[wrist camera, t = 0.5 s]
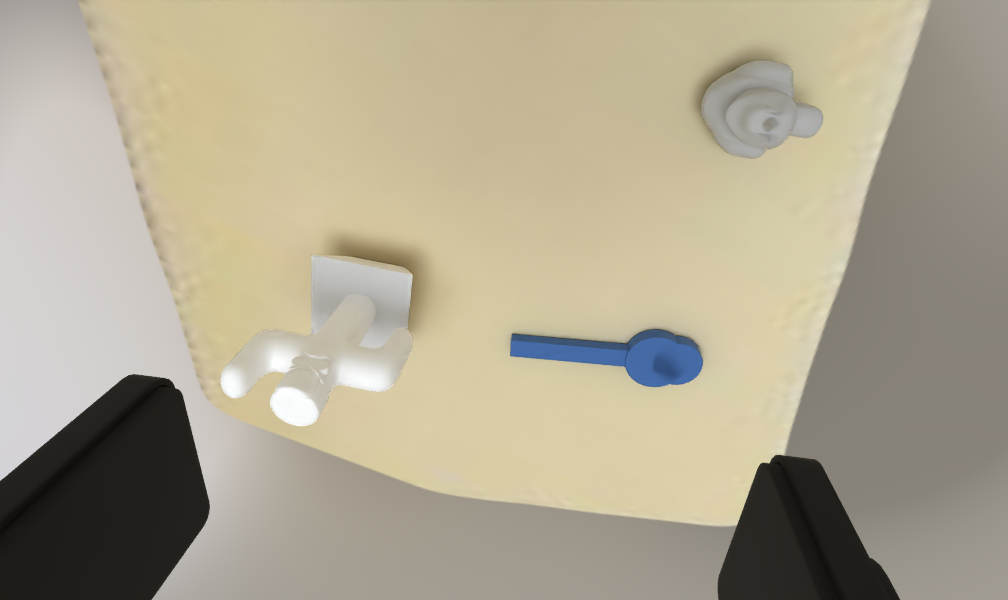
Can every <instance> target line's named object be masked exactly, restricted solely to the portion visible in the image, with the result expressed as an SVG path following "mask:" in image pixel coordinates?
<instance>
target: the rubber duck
mask: <svg viewBox="0 0 1008 600" xmlns="http://www.w3.org/2000/svg"><path fill="white" fill-rule="evenodd" d="M793 96H794V86H793V72H792V69H791V68H790V67H789V66H788V65H787V64H784V63H779V62H774V61H768V60H756V61H752V62H748V63H746V64H743V65H741V66H740V67H738V68H737V69H736V70H734V71H731V72H728V73H727V74H725V75H723V76H722V77H720V78H719V79H717V80H716V81H715V82H713V83H712V84H711V85H710V86H709V88H708V89H707V90H706V92H705V94H704V97H703V100H702V103H701V114H702V116H703V118H704V120H705V122H706V124H707V126H708V127H709V129H710V130H711V132H712V133H713V135H714V138H715V140H716V142H717V143H718V144H719V145H720V146H721V147H722V148H723V149H724V150H725V151H726V152H728V153H729V154H731V155H734V156H739V157H744V158H750V159H755V158H758V157H760V156H761V155H762V154H763V153H764V152H765V151H766V149H772V148H775V147H777V146H779V145H780V144H782V143H783V142H784V141H785V140H786V139H787V138H788V136H789V135H792V136H796V137H801V138H809V137H811V136H813V135H815V134H816V133H817V132H818V131H819V129H820V128H821V126H822V123H823V114H822V112H821V110H820V109H818V108H817V107H814V106H811V105H808V104H805V103H803V102H800V101H796V100H793Z"/></svg>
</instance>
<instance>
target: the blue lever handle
mask: <svg viewBox="0 0 1008 600" xmlns="http://www.w3.org/2000/svg"><path fill="white" fill-rule="evenodd" d="M510 356H514V357H525V358H536V359H547V360H558V361H569V362H580V363H591V364H602V365H613V366H624V367H626V370H627V373H628V374H629V376H630V377H631V378H632V379H633V380H634V381H636V382H637V383H639V384H641V385H644V386H649V387H661V386H665V385H668V384H672V385H679V384H684V383H687V382H690V381H691V380H693V379H694V378H696V377H697V376H698V374H699V373H700V371H701V369H702V365H703V360H702V356H701V353H700V350H699V348H698V346H697V345H696V343H694V342H693V341H692V340H690V339H689V338H686V337H682V336H675V335H673V334H672V333H670V332H667V331H664V330H647V331H644V332H641V333H639V334H637V335H636V336H634V337H633V338H632V339H631V340H630V341H629V342H628V344H620V343H609V342H598V341H586V340H575V339H563V338H552V337H541V336H529V335H518V334H512V338H511V352H510Z"/></svg>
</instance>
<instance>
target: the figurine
mask: <svg viewBox="0 0 1008 600" xmlns="http://www.w3.org/2000/svg"><path fill="white" fill-rule="evenodd" d="M412 277H413V275H412V274H411V273H410V272H409V271H408V270H407V269H406V268H405V267H401V266H396V265H391V264H386V263H381V262H376V261H371V260H366V259H361V258H356V257H351V256H331V255H312V270H311V335H303V334H298V333H293V332H289V331H284V330H278V329H266V330H263V331H261V332H259V333H258V334H256V335H255V336H254V337H253V338H252V339H251V340H250V341H249V342H248V343H247V344H246V345H245V346H244V347H243V348H242V349H241V350H240V351H239V352H238V353H237V354H236V355H235V357H234V358H233V359H232V360H231V361H230V362H229V363H228V364H227V365H226V367H225V368H224V370H223V372H222V375H221V387H222V389H223V391H224V393H225V394H226V395H228V396H229V397H231V398H240V397H243V396H244V395H245V394H247V393H248V392H249V390H250V389H251V388H252V387H253V386H254V384H255V383H256V382H257V381H258V380H259V379H261V378H262V377H263V376H265V375H266V374H268V373H271V372H274V371H277V372H282V373H286V374H285V375H284V377H283V378H282V379H281V381H280V382H279V384H278V385H277V386H276V390H275V392H274V393H273V395H272V396H271V399H270V406H271V408H272V410H273V412H274V413H275V414H276V415H277V416H278V417H279V418H280V419H282V420H283V421H285V422H287V423H289V424H292V425H296V426H307V425H311V424H313V423H314V422H315V421H316V420H317V419H318V417H319V415H320V413H321V412H322V410H323V408H324V406H325V404H326V403H327V401H328V398H329V393H330V392H331V390H332V389H333V388H335V387H336V386H338V385H345V386H350V387H355V388H360V389H365V390H370V391H375V392H383V391H386V390H388V389H390V388H391V387H392V386H393V385H394V384H395V382H396V381H397V379H398V377H399V375H400V373H401V371H402V369H403V367H404V365H405V363H406V361H407V358H408V356H409V354H410V352H411V349H412V336H411V334H410V332H409V331H408V330H407V328H408V318H409V308H410V298H411V288H412Z"/></svg>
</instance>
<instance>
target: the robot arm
mask: <svg viewBox="0 0 1008 600" xmlns="http://www.w3.org/2000/svg"><path fill="white" fill-rule="evenodd" d="M209 509H210V504H209V499H208V495H207V491H206V487H205V483H204V479H203V475H202V471H201V467H200V463H199V459H198V455H197V451H196V447H195V443H194V439H193V435H192V431H191V427H190V423H189V419H188V415H187V411H186V407H185V403H184V399H183V395H182V393H181V391H180V390H178V389H175V387H174V384H173V383H172V382H171V381H170V380H169V379H166V378H160V377H152V376H144V375H135V374H133V375H128V376H127V377H125V378H123V379H122V380H121V381H119V382H118V383H117V384H116V385H115V386H114V387H112V388H111V389H110V390H109V391H108V392H106V393H105V394H104V395H103V396H102V397H100V398H99V399H98V400H97V401H96V402H94V403H93V404H92V405H91V406H90V407H88V408H87V409H86V410H85V411H84V412H83V413H81V414H80V415H79V416H78V417H76V418H75V419H74V420H73V421H72V422H70V423H69V424H68V425H67V426H66V427H64V428H63V429H62V430H61V431H60V432H58V433H57V434H56V435H55V436H54V437H53V438H51V439H50V440H49V441H48V442H46V443H45V444H44V445H43V446H42V447H41V448H39V449H38V450H37V451H36V452H35V453H33V454H32V455H31V456H30V457H29V458H27V459H26V460H25V461H24V462H23V463H21V464H20V465H19V466H18V467H17V468H15V469H14V470H13V471H12V472H11V473H9V474H8V475H7V476H6V477H5V478H3V479H2V480H1V481H0V600H152V598H153V597H154V596H155V594H156V593H157V591H158V590H159V588H160V587H161V586H162V584H163V583H164V581H165V580H166V579H167V577H168V576H169V574H170V573H171V572H172V570H173V569H174V567H175V566H176V565H177V563H178V562H179V560H180V559H181V558H182V556H183V555H184V553H185V552H186V550H187V549H188V548H189V546H190V545H191V543H192V542H193V541H194V539H195V538H196V536H197V535H198V533H199V532H200V531H201V529H202V528H203V526H204V524H205V523H206V521H207V518H208V515H209ZM718 599H719V600H900V599H899V597H898V595H897V593H896V591H895V589H894V587H893V586H892V584H891V582H890V580H889V578H888V576H887V575H886V573H885V572H884V570H883V569H882V567H881V566H880V565H879V564H878V563H877V562H876V561H874V560H873V559H871V558H869V556H868V554H867V552H866V550H865V548H864V546H863V544H862V542H861V541H860V538H859V536H858V534H857V533H856V531H855V529H854V527H853V525H852V523H851V521H850V519H849V517H848V515H847V513H846V511H845V509H844V507H843V505H842V503H841V502H840V500H839V498H838V496H837V494H836V492H835V490H834V488H833V486H832V484H831V482H830V480H829V478H828V476H827V474H826V473H825V471H824V469H823V467H822V465H821V464H820V463H819V462H818V461H817V460H815V459H806V458H799V457H791V456H783V455H775V456H774V457H773V458H772V460H771V462H770V464H769V463H761V464H760V465H759V467H758V469H757V472H756V475H755V478H754V480H753V483H752V486H751V489H750V491H749V494H748V497H747V500H746V502H745V505H744V508H743V511H742V514H741V516H740V519H739V522H738V525H737V527H736V530H735V533H734V536H733V539H732V541H731V544H730V547H729V549H728V552H727V555H726V558H725V561H724V563H723V566H722V569H721V572H720V574H719V578H718Z"/></svg>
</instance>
